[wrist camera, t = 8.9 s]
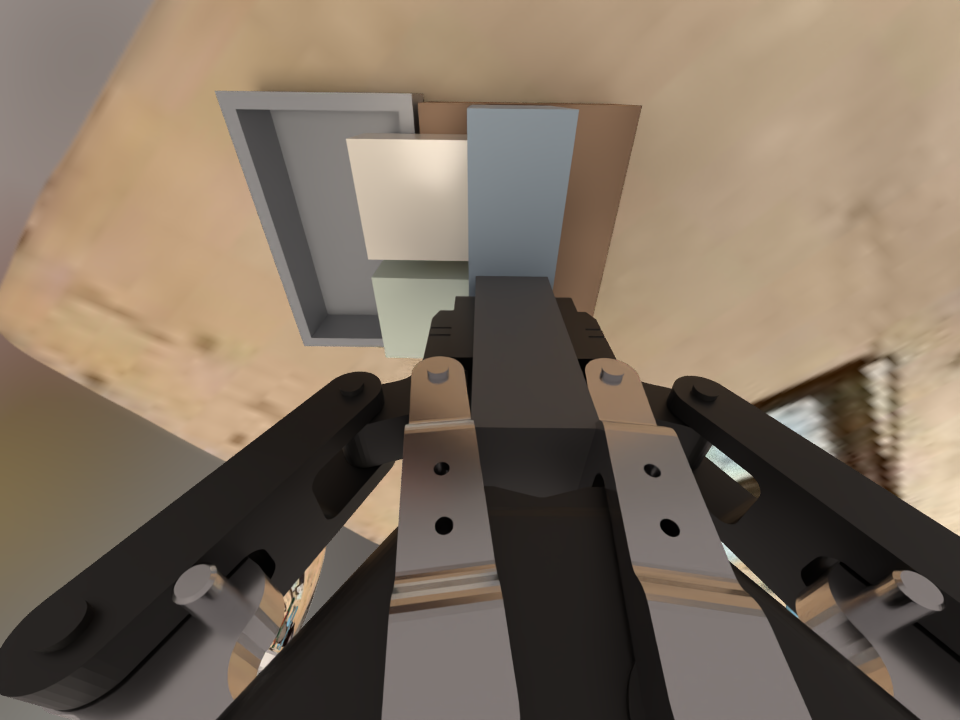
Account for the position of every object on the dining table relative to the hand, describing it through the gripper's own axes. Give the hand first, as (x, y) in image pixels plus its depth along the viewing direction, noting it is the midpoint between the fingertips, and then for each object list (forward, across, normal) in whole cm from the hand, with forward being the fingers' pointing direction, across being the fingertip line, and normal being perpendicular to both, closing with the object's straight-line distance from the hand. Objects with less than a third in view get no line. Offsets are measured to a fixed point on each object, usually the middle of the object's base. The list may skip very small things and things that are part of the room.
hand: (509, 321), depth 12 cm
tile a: (+7, +4, -3) cm, 8 cm away
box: (+11, +8, 0) cm, 13 cm away
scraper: (+6, 0, 0) cm, 6 cm away
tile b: (+7, +4, +3) cm, 8 cm away
